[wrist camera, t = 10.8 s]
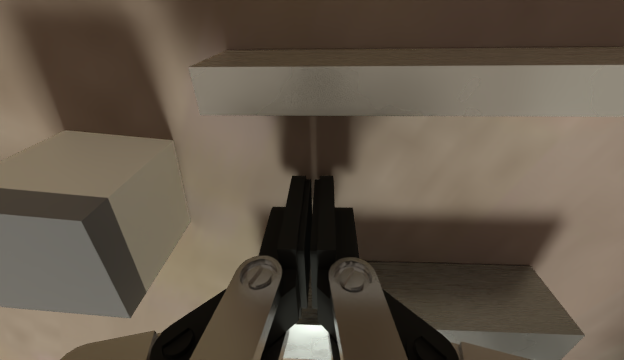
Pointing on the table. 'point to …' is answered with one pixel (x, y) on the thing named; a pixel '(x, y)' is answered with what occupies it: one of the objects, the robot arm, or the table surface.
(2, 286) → the grey block
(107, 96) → the table surface
